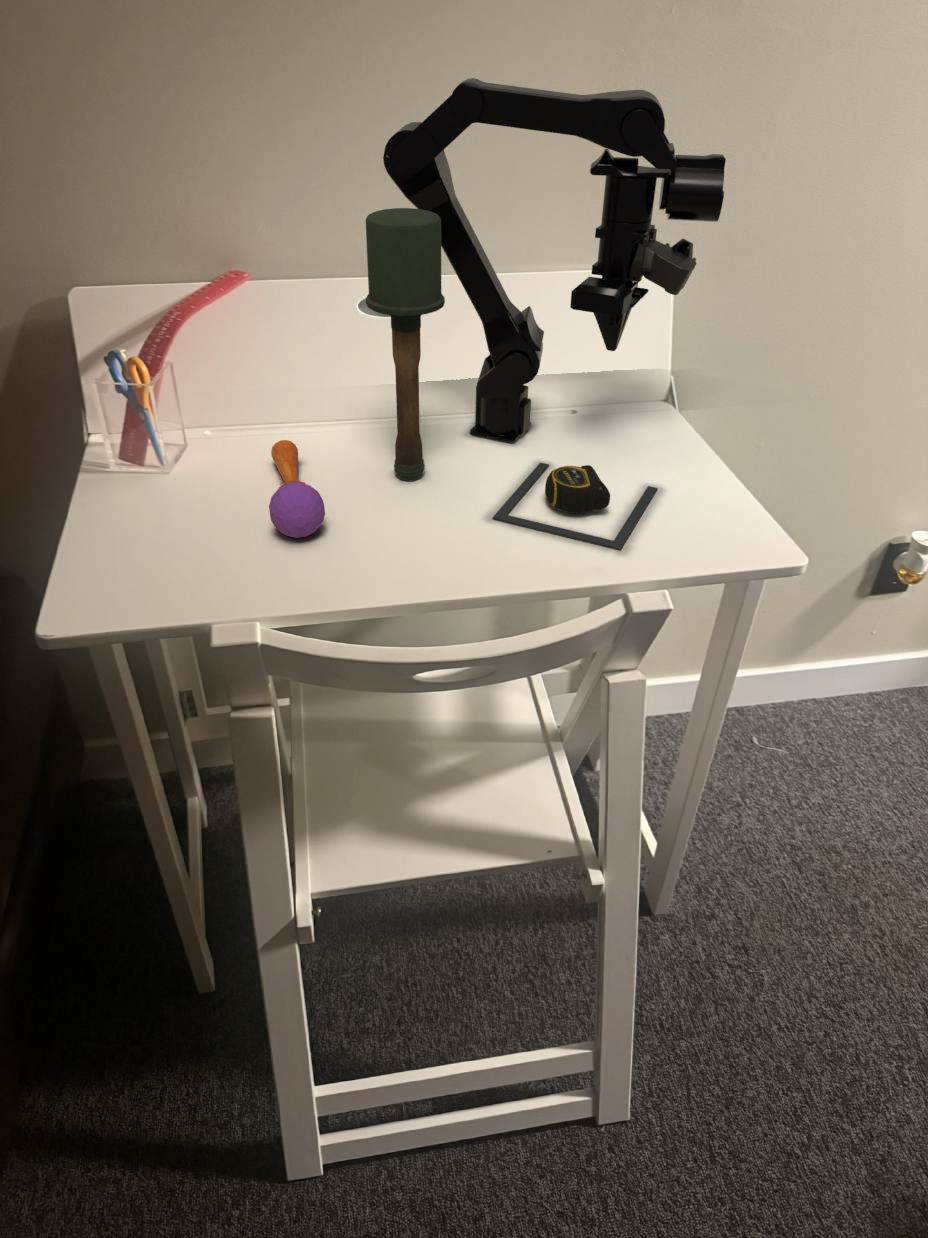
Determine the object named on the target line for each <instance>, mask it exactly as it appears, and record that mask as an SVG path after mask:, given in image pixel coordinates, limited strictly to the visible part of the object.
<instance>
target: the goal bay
mask: <svg viewBox="0 0 928 1238" xmlns="http://www.w3.org/2000/svg"><path fill="white" fill-rule="evenodd" d="M549 467H550V464H549V463H545V462H539V463H538V464H537V465H536V466H535V467H534V469H533V470H532V471H531V472H530V473H529V474H528V476H527V477H526V478H525V479H524V480H523V482H522V483H520V485H519V486H518V487H517V489H516V490H515V491H514V492H513V493H512V494H511V495H510V497H508V499H507V500H506V501H505V502H504V503H503V505H502V506H501V507H500V508H499V510H497V511H496V513H495V514H494V515H493V516H492V520H494V521H499V522H502V523H506V524H510V525H515V526H519V527H523V528H527V529H531V530H534V531H540V532H542V533H543V532H544V533H548V534H551V535H556V536H559V537H563V538H568V539H571V540H576V541H580V542H583V543H588V544H591V545H596V546H601V547H604V548H609V549H613V550H617V551H622V549H623V548H624V546H625V545H626V543H627V541H628V539H629V538H630V537H631V534H632V533H633V531H634V529H635V528H636V526H637V525H638V523H639V521H640V520H641V518H642V516H643V514H644V513H645V511H646V510H647V508H648V506H649V505H650V504H651V502H652V500H653V499H654V496H656V493H657V491H658V487H654V486H651V485H648V486H646V488H645V490H644V492H643V493H642V495H641V497H640V498H639V500H638V501H637V503H636V504H635V506H634V507H633V509H632V511H631V513H630V514H629V516H628V517H627V519H626V520H625V522H624V523H623V525H622V527H621V528H620V530H619V532H618V533H617V535H616V536H615V538H614V540H613V539H608V538H604V537H600V536H597V535H591V534H587V533H583V532H580V531H576V530H572V529H566V528H562V527H559V526H554V525H551V524H547V523H542V522H538V521H534V520H529V519H525V518H522V517H517V516H513V515H510V513H511V512H512V510H513V509H514V508H515V507H516V506H517V505H518V503H520V502H521V500H522V499H523V498H524V496H525V495H526V494H527V493H528V492H529V491H530V489H531V488H532V487H533V486H534V485H535V484H536V482H537V481H538V480H539V479H540V477H541V476H542V475H543V474H544V473H545V471H547V469H548V468H549Z"/></svg>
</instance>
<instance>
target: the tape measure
mask: <svg viewBox="0 0 928 1238" xmlns="http://www.w3.org/2000/svg"><path fill="white" fill-rule="evenodd" d="M544 486H545V487H544V494H545V495H544V496H545V498H546V500H547V502H548V503H549V504H550V505H551V506H552V507H553V508H554V509H556V510H559V511H561V512H564V513H570V514H584V513H589V512H593V511H599V510H603V509H605V508H607V507H608V506H609V505H610V501H611V493H610V490H609V489H608V487H607V486H606V484H604V482H603V481H602V480H601V478H600V477H599V475H598V473H597V472H596V470H595V468H594V467H593V466H592V465H590V464H586V465H581V466H576V465H564V466H559V467H557V468H555V469H553V470H551V471H550V473H549V474H548V476H546V480H545V485H544Z"/></svg>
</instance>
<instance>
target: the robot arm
mask: <svg viewBox="0 0 928 1238" xmlns="http://www.w3.org/2000/svg"><path fill="white" fill-rule="evenodd" d="M473 124H483V125H484V124H485V125H491V126H499V127H508V128H513V129H514V128H515V129H520V130H521V129H522V130H529V131H535V132H536V131H538V132H544V133H553V134H560V135H566V136H575V137H578V138H580V139H584V140H586V141H589V142H591V143H593V144H595V145H597V146H599V147H602V148H605V149H604V150H603V151H602V153H601V154H600V155H599V157H598V158H596V160H594V161H593V162H591V163H590V169H589V173H590V175H591V176H603V177H604V176H605V179H604V180H605V182H604V191H603V199H602V200H603V203H602V212H601V223H600V225H599V226H597V227H596V228H595V233H594V234H595V235H594V238H595V239H599V240H598V241H599V243H598V252H597V261H595V263H594V264H593V263H592V265H591V275H595V276H588V277H587V278H585V279H584V280H583V281H582V282H581V283H580V284H578V285H577V286H576V287H575V288H573V290H571V293H570V309H572V310H574V311H580V312H581V311H582V312H587V313H593V316H594V318H595V321H596V323H597V325H598V326H597V327H598V328H599V331H600V335H601V338H602V339H603V343H604V346H605V349H606V350H607V351H609V352H615V351H617V349H618V347H619V345H620V342H621V338H622V337H623V333H624V330H625V328H626V325H627V322H628V320H629V317H630V315H631V311H632V309H633V308H634V307H635V306H637V304H638V303H639V302H640V301H641V300H642V299H643V298H644V297H645V296H646V295H647V294H648V293H649V291H650V289H648V288H645V287H639V283H641V281H642V279H643V277H644V278H645V279H646V280H647V281H650V282H651V283H653V284H655V285H657V286H658V287H661V288H662V289H664V292H665V293H668V294H670V295H673V296H678V295H679V294H680V292H681V291H682V290H683V289H684V288H685V286H686V284H687V282H688V281H689V279H690V276H691V275H692V273H693V271H694V270H695V268H696V265H697V258H696V257H694V256H693V255H694V243H693V242H691V241H689V240H687V239H685V238H681V239H680V240H679V241H677V242H676V243H675V244H673V245H672V246H671V244H670V243H668V242H666V243H662V242H660V241H658V240H657V234H658V233H657V232H658V230H657V229H658V228H656V225H655V224H652V219H653V211H654V203H655V196H656V190H657V189H656V188H657V181H658V179H661V184H660V192H659V201H658V210H659V211H664V214H666V217H667V220H670V221H687V222H688V221H691V222H711V223H718V222H719V220H720V216H721V214H722V213H721V212H722V209H723V203H724V199H725V197H724V196H725V192H724V191H725V190H724V184H725V183H724V182H725V167H726V161H727V160H726V157H725V155H724V154H722V153H721V154H718V153H712V154H707V155H693V154H675V153H676V149H675V147H674V146H675V145H674V143H673V142H670V141H669V140H668V137H667V135H666V134H665V130H666V119H665V113H664V111H663V106H662V104H661V102H660V101H659V99H658V98H657V97H656V96H655V94H653V93H652V92H650V91H648V90H645V89H629V90H618V91H617V90H616V91H615V90H614V91H607V92H599V93H591V94H577V93H570V92H563V91H562V92H560V91H556V90H555V91H554V90H545V89H539V88H533V87H532V88H531V87H523V86H515V85H509V84H502V83H501V84H500V83H495V82H493V83H492V82H485V81H483V80H481V79H478V78H475V77H473V78H466V79H465V80H463V81H461V82H460V83H458V84H457V86H456V87H455V88H454V89H453V91H452V93H451V95H449V96H448V98H446V99H445V100H444V101H443V102H442V103H441V104H440V105H439V106H438V107H437V108H435V110H434V111H432V112H431V113H430V114H429V115H428V116H427V117H426V118H425V119H424V120H422V122H421V121H412V122H409V123H407V124H405V125H404V126H402V127H401V128H400V129H398V130H397V131H396V132H395V133H394V134H393V135H392V136H391V137H389V139H388V141H387V142H386V144H385V146H384V151H383V156H382V159H383V160H382V161H383V166H384V169H385V172H386V173H387V175H388V177H389V178H390V179H391V180H392V182H393V183H394V184H395V186H396V187H397V189H399V191H400V192H401V193H402V194H403V196H404V197H405V199H407V200H408V201H409V202H410V204H412V205H413V206H414V207H415V209H422V210H427V211H430V212H433V213H436V214H437V215H438V216H439V217H440V218H441V249H442V250H443V252H444V254H445V256H446V259H448V261H449V263H450V265H451V267H452V269H453V271H454V273H455V274H456V277H457V279H458V280H459V282H460V283H461V285H462V288H463V289H464V291H465V293H466V295H467V297H468V298H469V301H470V303H471V304H472V306H473V308H474V310H475V312H476V313H477V316H478V317H479V320H480V321H481V324H482V328H483V331H484V332H483V333H484V337H485V341H486V345H487V350H488V353H489V354H488V355H487V356H486V357H485V358H484V360H483V363H482V367H481V369H480V373H479V376H478V379H477V382H476V386H475V412H474V413H475V416H474V417H475V419H474V426H472V427H471V428H470V429H469V434H470V435H472V436H477V437H482V438H487V439H490V440H491V439H492V440H496V441H501V442H506V443H511V444H513V443H516V442H517V441H518V439H519V438H520V437H522V435H524V433H526V432H527V431H528V429H529V428H530V427H531V425H532V423H531V412H532V409H531V408H532V399H531V398H529V385H527V384H529V383H531V382H532V381H533V380H534V379H535V378H536V377H537V375H538V373H539V370H540V368H541V367H540V366H541V361H542V356H543V352H544V351H543V350H544V342H543V340H544V335H545V331H544V330H543V329H542V328H541V327H540V326H539V324H537V321H536V319H535V315H534V313H533V309H532V307H531V306H530V305H528V306H527V307H526V308H524V309H523V310H522V311H521V310H520V309H519V308H518V307H517V306H516V305H515V304H514V303H513V302H512V301H511V299H510V298H509V296H508V295H507V293H506V290H505V288H504V287H503V285H502V282H501V280H500V278H499V277H498V275H497V273H496V271H495V269H494V267H493V264H492V263H491V261H490V259H489V257H488V256H487V253H486V251H485V250H484V247H483V245H482V244H481V241H480V240H479V238H478V236H477V234H476V233H475V230H474V228H473V226H472V224H471V223H470V220H469V218H468V216H467V215H466V213H465V211H464V208H463V207H462V205H461V203H460V201H459V199H458V197H457V195H456V191H455V187H454V186H455V185H454V182H453V177H452V173H451V172H452V171H451V168H450V165H449V160H448V158H447V155H446V152H445V149H446V148H448V147H449V146H450V145H451V144H452V143H453V142H454V141H455V140H456V139H457V138H458V137H459V136H460V135H461V134H463V132H464V131H465V130H467V129H468V128H469V127H470V126H471V125H473ZM610 151H614V152H616V153H619V154H622V155H625V156H628V157H621V156H620V157H617V156H614V155H613V154H612V153H611V152H610ZM639 157H642V158H644V159H645V161H647V162H648V163H649V164H650V165H652V166H645V165H644V166H643V165H639ZM596 276H601V277H596Z"/></svg>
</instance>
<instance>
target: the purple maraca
mask: <svg viewBox="0 0 928 1238" xmlns="http://www.w3.org/2000/svg"><path fill="white" fill-rule="evenodd" d="M270 454H271V458H272V460H273V462H274V464H275V466H276V468H277V470H278V472H279V474H280V475H281V478H282V480H283V481H284V483H282V484H281V485H280V486H279V487H278V488H277V490H276V491H275V492H274V493H273V494H272V496H271V498H270V501H269V505H268V509H269V517H270V521H271V523H272V525H273V526H274V528H275V529H276V530H277V531H279V532H280V533H282V534H283V535H285V536H287V537H291V538H294V539H299V538H306V537H309V536H310V535H312V534H314V533H315V532H316V531H317V530H318V529H319V528H320V527H321V525H323V522H324V519H325V516H326V509H325V503H324V499H323V498H322V496H321V494H320V492H319V491H318V490H317V489H315V488H314V487H312V486H311V485H310V484H306V482H303V481H300V480H298V466H299V450H298V446H297V445H296V444H295V443H294V442H293V441H291V440H287V439H283V440H278V441H277V442H275V443H274V444H273V445H272V447H271V450H270Z"/></svg>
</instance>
